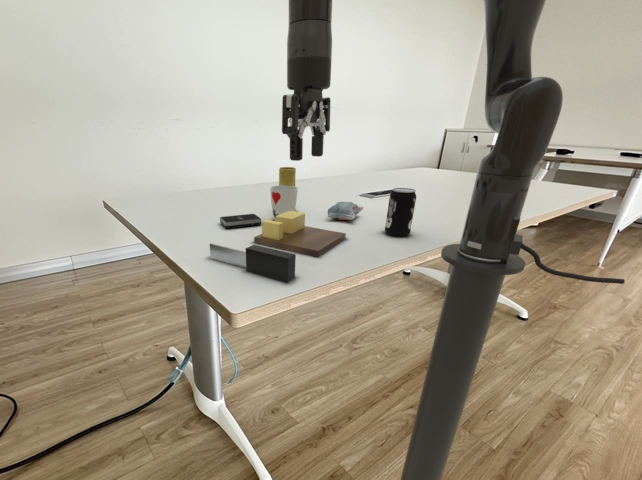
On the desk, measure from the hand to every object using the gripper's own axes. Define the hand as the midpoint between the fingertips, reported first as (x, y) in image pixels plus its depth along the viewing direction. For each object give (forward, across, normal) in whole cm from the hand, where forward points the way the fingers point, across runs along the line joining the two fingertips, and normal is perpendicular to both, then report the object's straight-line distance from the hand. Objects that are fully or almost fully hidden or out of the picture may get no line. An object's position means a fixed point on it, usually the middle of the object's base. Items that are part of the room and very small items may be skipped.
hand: (307, 158), depth 65 cm
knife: (+22, -8, +8) cm, 25 cm away
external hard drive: (+22, +17, +30) cm, 41 cm away
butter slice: (+20, +8, +13) cm, 25 cm away
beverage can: (+23, +33, -11) cm, 42 cm away
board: (+22, +14, +8) cm, 27 cm away
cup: (+22, +28, +22) cm, 42 cm away
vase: (+22, +38, +27) cm, 51 cm away
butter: (+20, +17, +13) cm, 29 cm away
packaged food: (+22, +41, +7) cm, 47 cm away
